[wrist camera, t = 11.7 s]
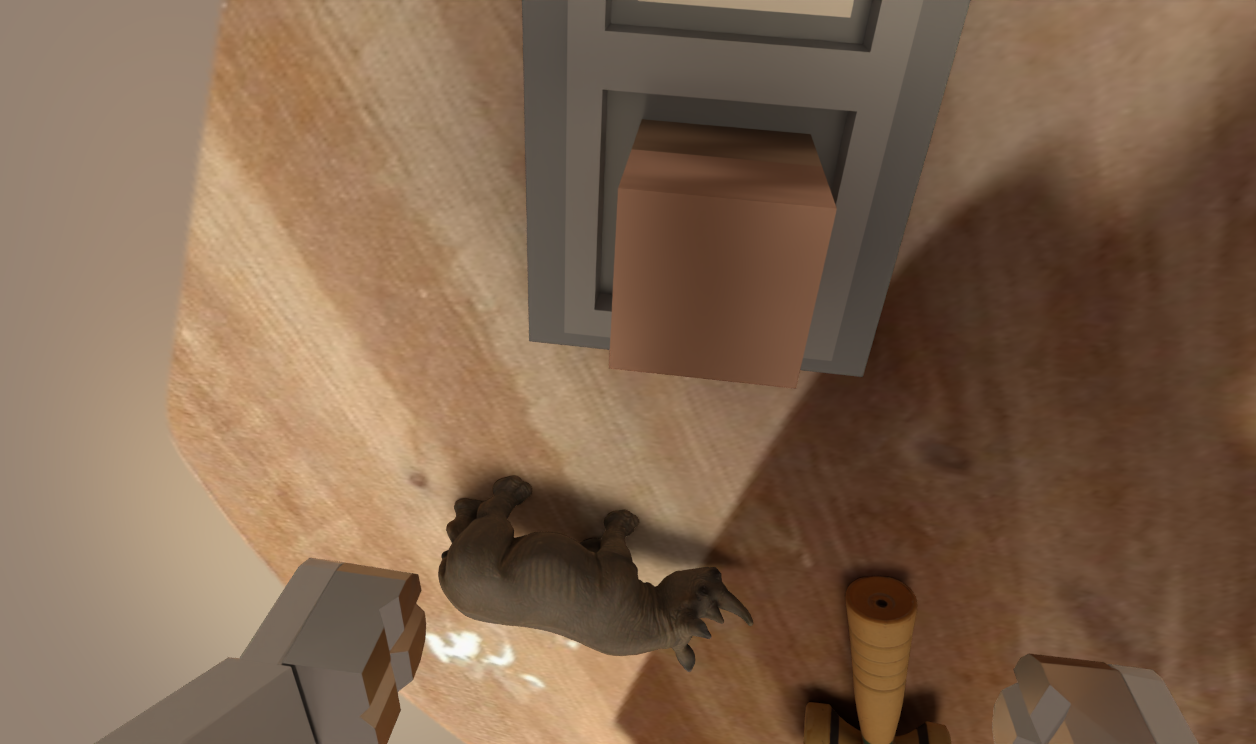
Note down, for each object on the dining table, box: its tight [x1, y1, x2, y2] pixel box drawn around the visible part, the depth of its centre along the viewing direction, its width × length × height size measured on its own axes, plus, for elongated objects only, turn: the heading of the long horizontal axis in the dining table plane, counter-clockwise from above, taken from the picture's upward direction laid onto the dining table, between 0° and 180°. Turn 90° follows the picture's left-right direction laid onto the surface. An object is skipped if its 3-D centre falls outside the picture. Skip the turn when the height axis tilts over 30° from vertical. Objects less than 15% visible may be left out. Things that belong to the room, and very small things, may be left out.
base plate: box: [522, 0, 971, 377], centre depth 20 cm, size 20×12×4 cm, turn 177°
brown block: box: [609, 119, 837, 388], centre depth 21 cm, size 5×5×6 cm
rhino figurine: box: [438, 476, 753, 672], centre depth 31 cm, size 4×14×6 cm, turn 74°
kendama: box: [803, 576, 951, 744], centre depth 36 cm, size 8×6×18 cm
